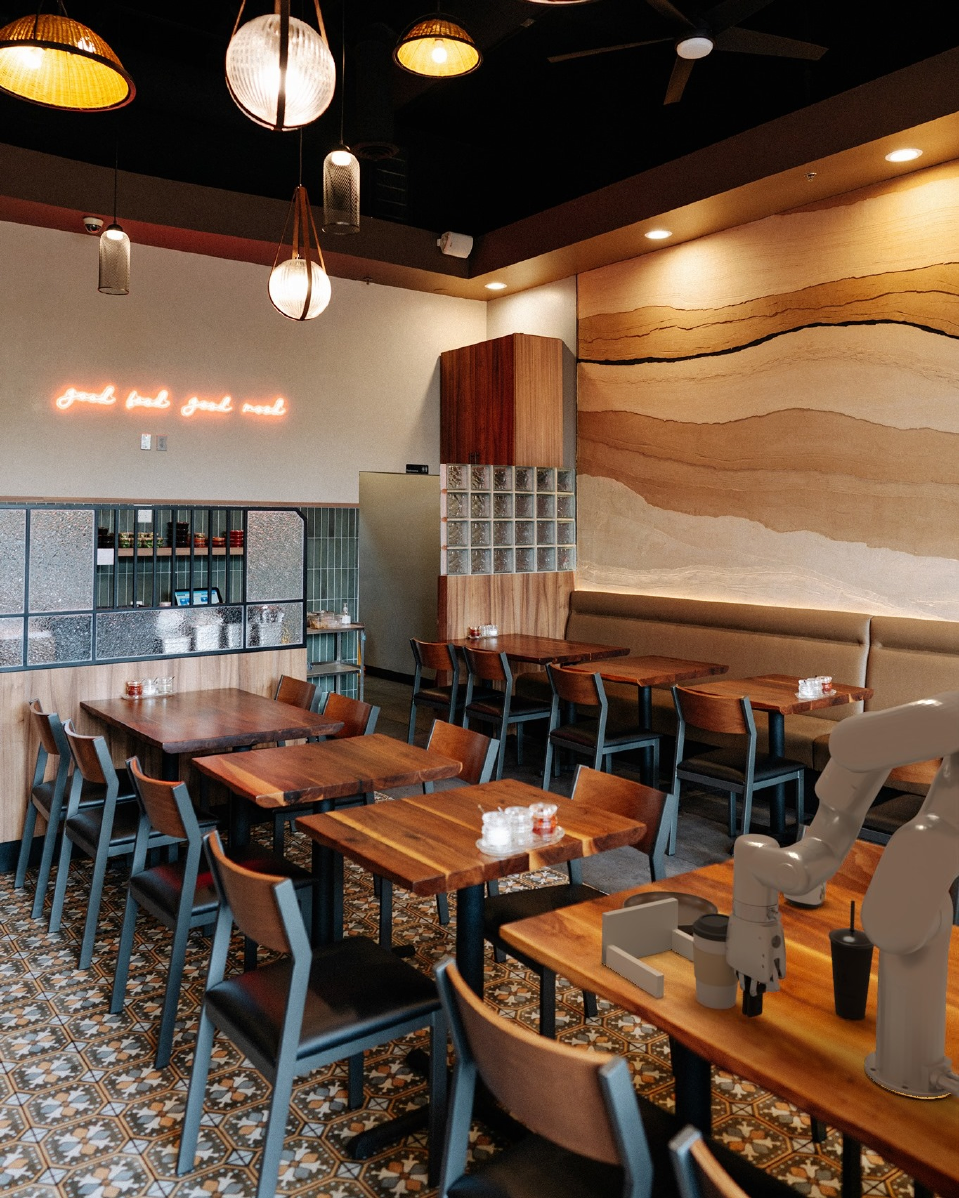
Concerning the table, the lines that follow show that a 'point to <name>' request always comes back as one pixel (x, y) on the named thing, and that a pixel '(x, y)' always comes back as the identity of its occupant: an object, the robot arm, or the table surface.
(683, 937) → the box
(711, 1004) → the coffee cup
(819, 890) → the spread jar
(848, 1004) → the drinking cup
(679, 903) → the plant saucer
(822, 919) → the table surface
